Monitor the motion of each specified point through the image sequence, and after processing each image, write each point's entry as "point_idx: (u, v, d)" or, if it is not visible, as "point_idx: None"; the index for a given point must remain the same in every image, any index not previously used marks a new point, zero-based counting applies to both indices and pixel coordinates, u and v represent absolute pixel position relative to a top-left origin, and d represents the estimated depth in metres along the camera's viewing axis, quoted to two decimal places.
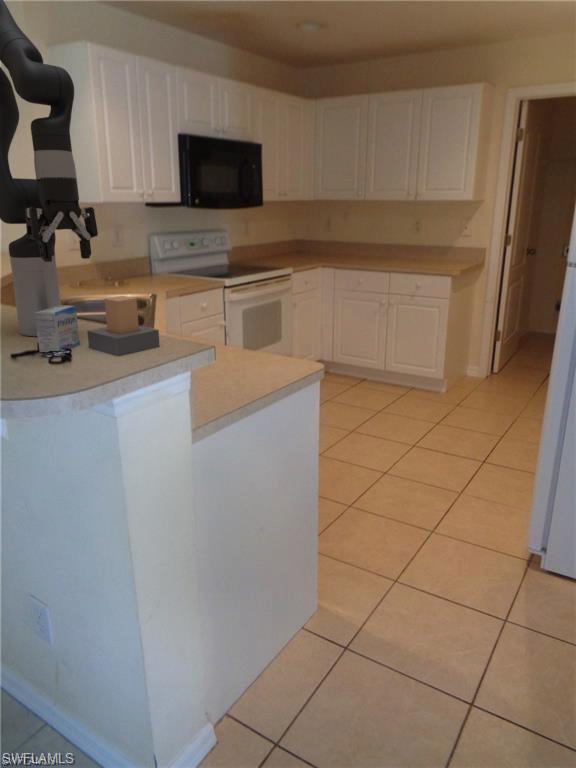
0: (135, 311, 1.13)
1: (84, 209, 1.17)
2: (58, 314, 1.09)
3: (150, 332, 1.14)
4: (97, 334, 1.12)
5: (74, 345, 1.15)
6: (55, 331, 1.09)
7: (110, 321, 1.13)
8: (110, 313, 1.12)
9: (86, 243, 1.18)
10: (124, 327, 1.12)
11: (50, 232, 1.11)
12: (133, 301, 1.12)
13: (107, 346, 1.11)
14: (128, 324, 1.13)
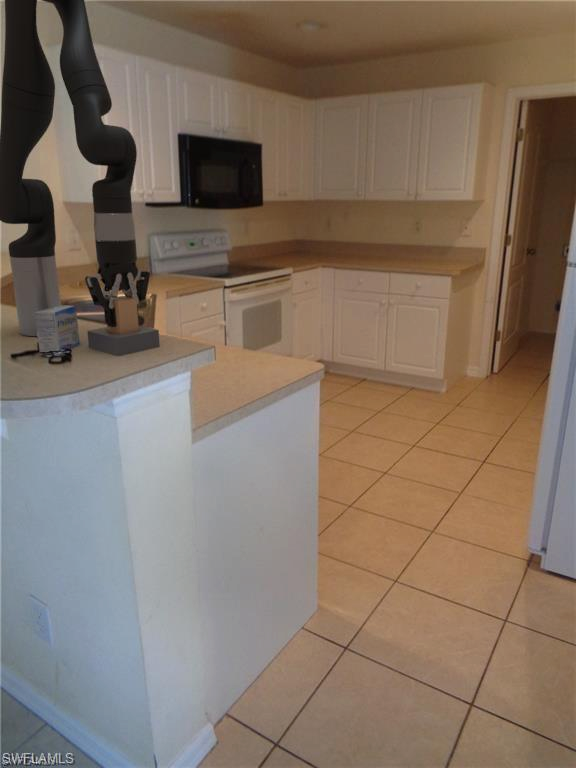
0: (135, 311, 1.13)
1: (140, 271, 1.15)
2: (58, 314, 1.09)
3: (150, 332, 1.14)
4: (97, 334, 1.12)
5: (74, 345, 1.15)
6: (55, 331, 1.09)
7: None
8: None
9: None
10: (124, 327, 1.12)
11: (114, 297, 1.10)
12: (133, 301, 1.13)
13: (107, 346, 1.11)
14: (128, 324, 1.13)
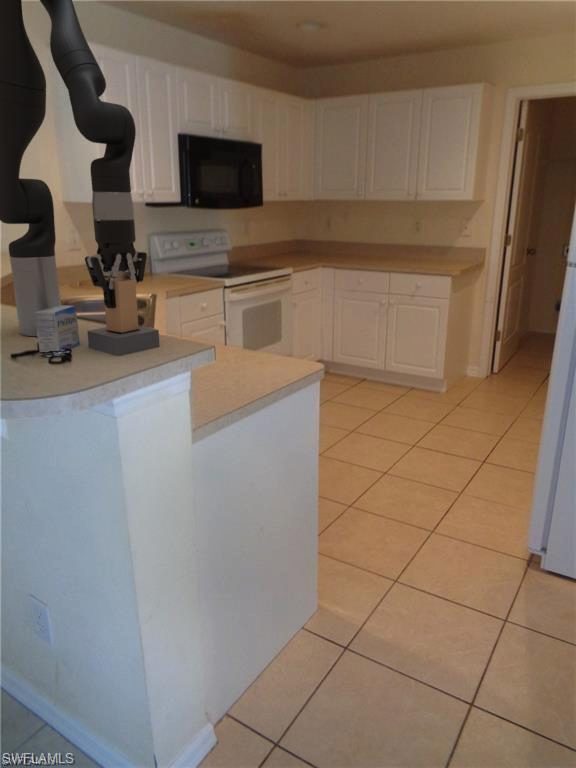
0: (134, 293, 1.13)
1: (137, 252, 1.14)
2: (58, 314, 1.09)
3: (150, 332, 1.14)
4: (97, 334, 1.12)
5: (74, 345, 1.15)
6: (55, 331, 1.09)
7: None
8: None
9: None
10: (124, 308, 1.11)
11: (114, 277, 1.09)
12: (132, 282, 1.12)
13: (107, 346, 1.11)
14: (128, 305, 1.12)
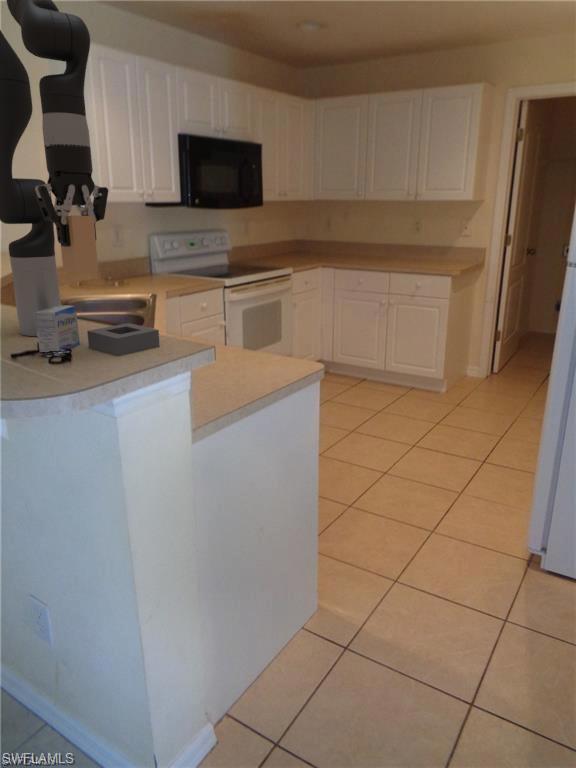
0: (92, 230, 1.02)
1: (98, 187, 1.03)
2: (58, 314, 1.09)
3: (150, 332, 1.14)
4: (97, 334, 1.12)
5: (74, 345, 1.15)
6: (55, 331, 1.09)
7: None
8: None
9: None
10: (79, 247, 1.01)
11: (67, 211, 0.99)
12: (90, 219, 1.01)
13: (107, 346, 1.11)
14: (84, 244, 1.02)
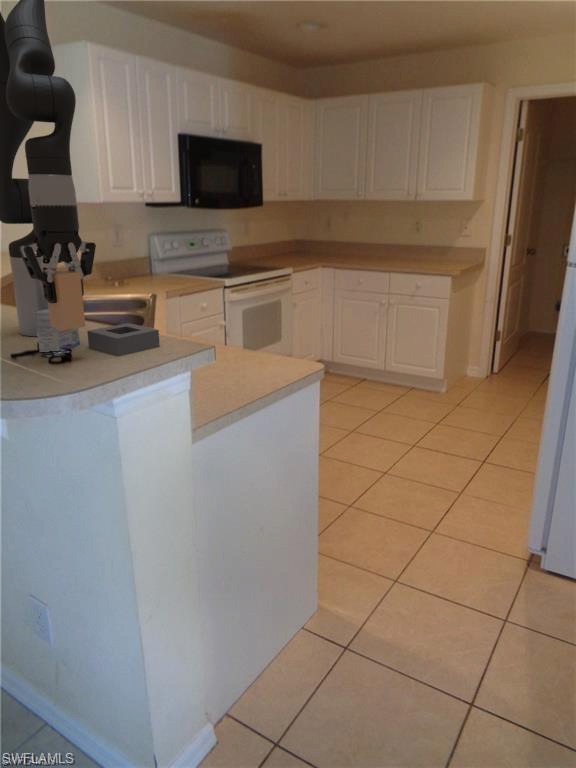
0: (79, 286, 1.02)
1: (85, 243, 1.04)
2: None
3: (150, 332, 1.14)
4: (97, 334, 1.12)
5: (74, 345, 1.15)
6: (55, 331, 1.09)
7: None
8: None
9: None
10: (66, 303, 1.01)
11: (53, 269, 0.99)
12: (76, 275, 1.02)
13: (107, 346, 1.11)
14: (71, 300, 1.02)
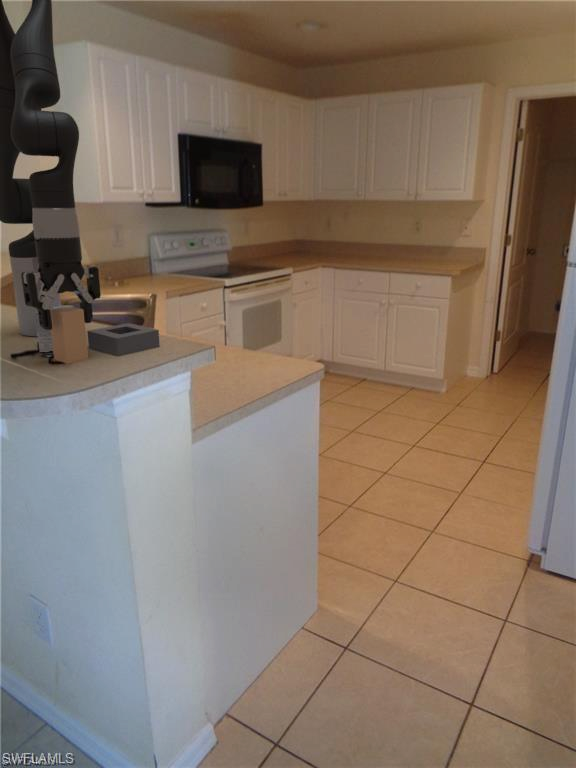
0: (82, 323, 1.05)
1: (87, 269, 1.05)
2: None
3: (150, 332, 1.14)
4: (97, 334, 1.12)
5: None
6: None
7: (55, 334, 1.04)
8: (54, 325, 1.03)
9: (87, 307, 1.06)
10: (69, 340, 1.03)
11: (50, 298, 1.00)
12: (79, 312, 1.04)
13: (107, 346, 1.11)
14: (74, 337, 1.04)
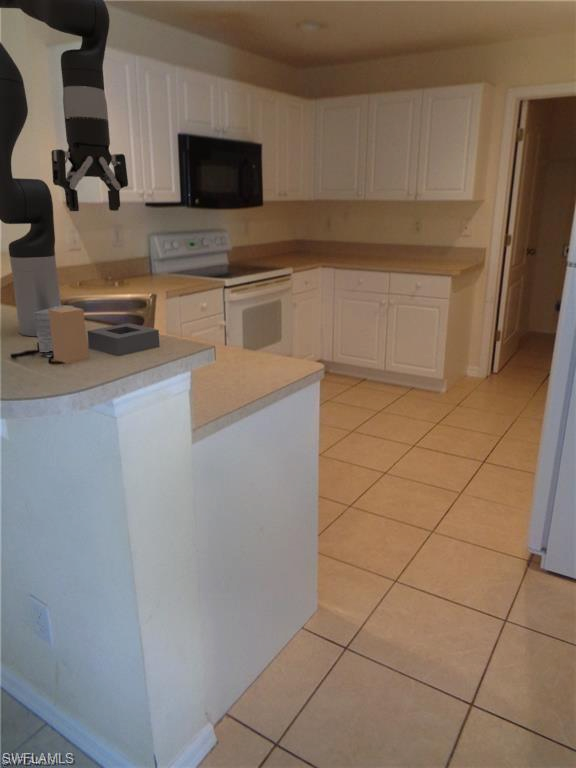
0: (82, 323, 1.05)
1: (114, 156, 1.07)
2: None
3: (150, 332, 1.14)
4: (97, 334, 1.12)
5: None
6: None
7: (55, 334, 1.04)
8: (54, 325, 1.03)
9: (115, 193, 1.09)
10: (70, 340, 1.03)
11: (78, 178, 1.02)
12: (80, 312, 1.04)
13: (107, 346, 1.11)
14: (74, 337, 1.04)
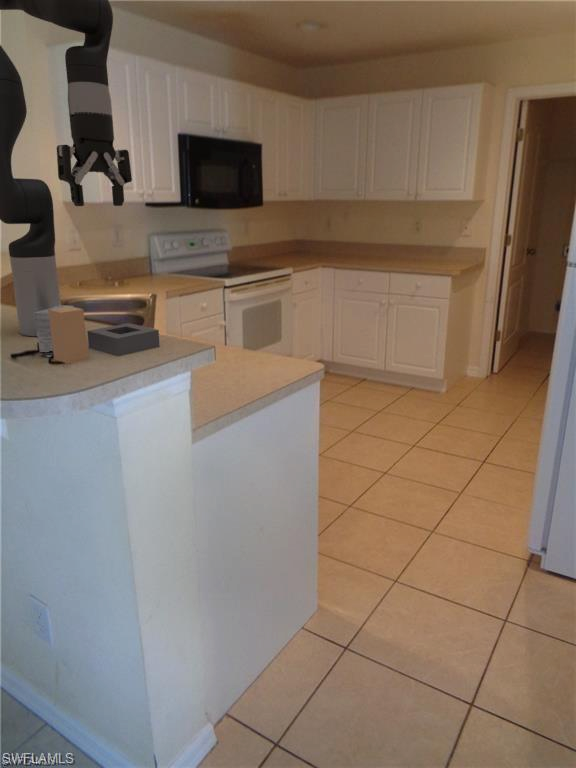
0: (82, 323, 1.05)
1: (118, 151, 1.09)
2: None
3: (150, 332, 1.14)
4: (97, 334, 1.12)
5: None
6: None
7: (55, 334, 1.04)
8: (54, 325, 1.03)
9: (119, 189, 1.10)
10: (69, 340, 1.03)
11: (83, 173, 1.03)
12: (79, 312, 1.04)
13: (107, 346, 1.11)
14: (74, 337, 1.04)
